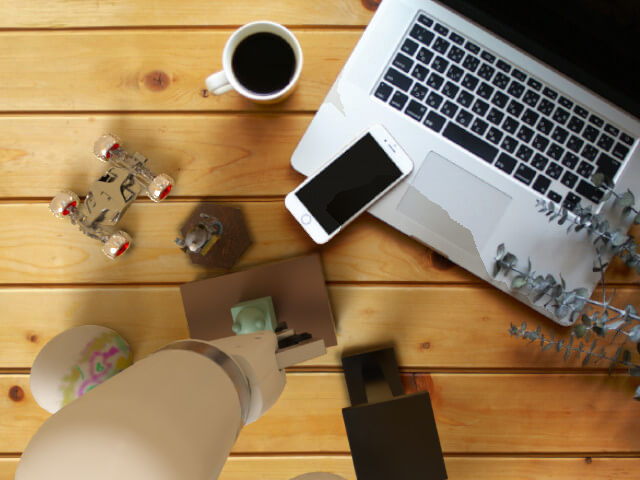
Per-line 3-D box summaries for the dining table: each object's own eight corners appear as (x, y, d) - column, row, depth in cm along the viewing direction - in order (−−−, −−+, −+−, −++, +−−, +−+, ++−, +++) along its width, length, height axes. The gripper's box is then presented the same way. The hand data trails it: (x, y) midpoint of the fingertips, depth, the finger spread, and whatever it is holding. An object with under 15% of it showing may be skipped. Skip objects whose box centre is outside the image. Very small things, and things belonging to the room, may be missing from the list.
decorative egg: (132, 408, 79) (86, 449, 64) (54, 389, 79) (-10, 424, 64) (151, 330, 79) (110, 352, 64) (73, 310, 79) (14, 327, 64)
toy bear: (277, 326, 67) (270, 338, 59) (244, 333, 67) (232, 347, 59) (270, 295, 67) (262, 304, 59) (237, 303, 67) (224, 312, 59)
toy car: (120, 260, 79) (105, 262, 73) (57, 212, 79) (38, 210, 74) (180, 181, 78) (170, 177, 73) (117, 133, 79) (102, 125, 73)
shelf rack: (336, 329, 78) (337, 345, 67) (217, 356, 78) (198, 375, 67) (318, 252, 78) (317, 254, 67) (199, 278, 78) (178, 285, 67)
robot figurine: (217, 187, 78) (198, 177, 66) (265, 227, 78) (253, 225, 66) (170, 243, 78) (142, 244, 66) (217, 283, 78) (197, 291, 66)
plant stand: (408, 399, 78) (448, 479, 52) (349, 412, 78) (360, 498, 52) (395, 340, 78) (429, 392, 52) (336, 353, 78) (341, 411, 52)
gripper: (60, 495, 32) (155, 407, 49) (337, 435, 31) (335, 368, 48) (34, 375, 32) (138, 329, 49) (310, 313, 31) (317, 289, 49)
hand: (236, 348), depth 49 cm, fingers open, 9 cm apart
